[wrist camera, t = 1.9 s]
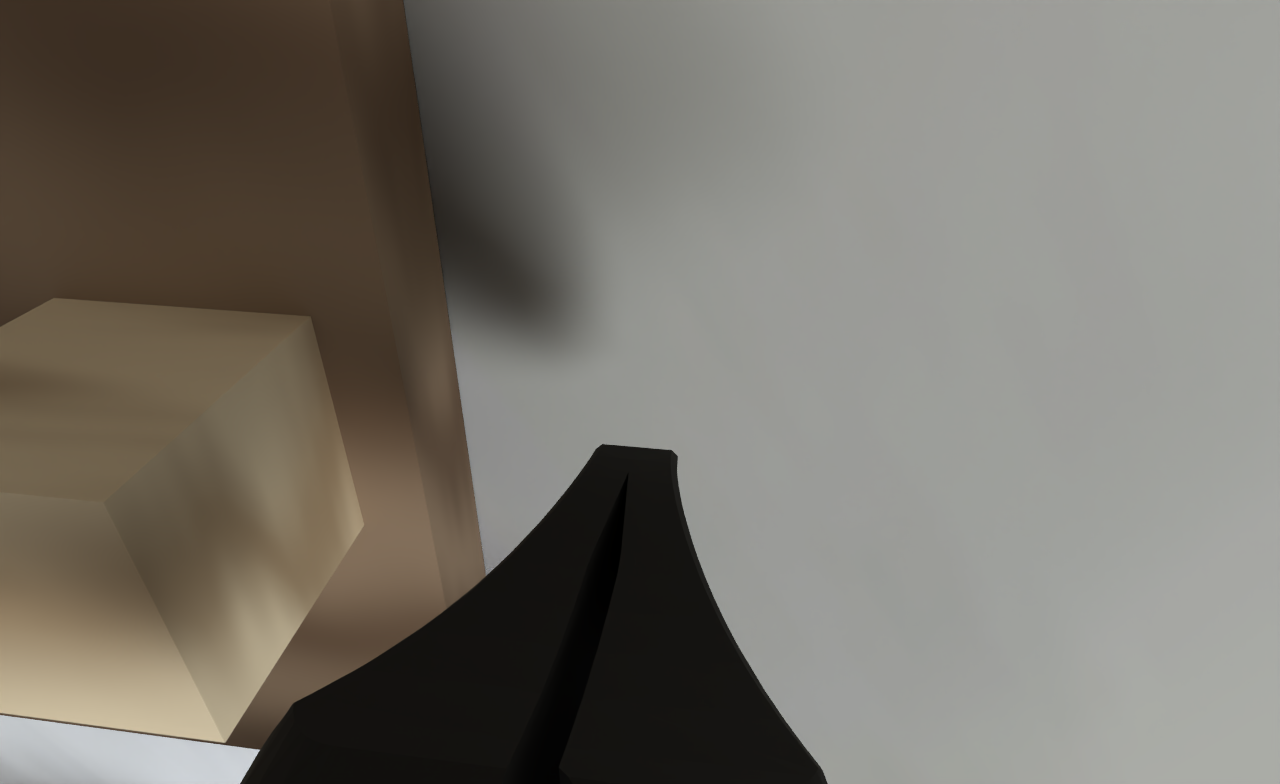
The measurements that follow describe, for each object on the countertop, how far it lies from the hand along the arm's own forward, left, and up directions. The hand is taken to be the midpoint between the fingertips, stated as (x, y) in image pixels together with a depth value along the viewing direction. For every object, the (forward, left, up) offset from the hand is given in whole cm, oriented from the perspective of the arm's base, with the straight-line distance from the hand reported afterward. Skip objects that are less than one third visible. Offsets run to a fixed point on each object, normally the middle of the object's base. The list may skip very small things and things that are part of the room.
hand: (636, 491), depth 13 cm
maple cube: (0, +8, -1) cm, 9 cm away
